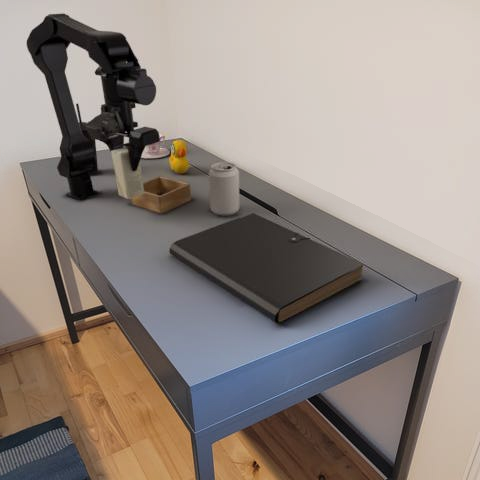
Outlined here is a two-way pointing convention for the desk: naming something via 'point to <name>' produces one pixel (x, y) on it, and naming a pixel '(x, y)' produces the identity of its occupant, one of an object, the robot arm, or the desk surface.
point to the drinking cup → (87, 137)
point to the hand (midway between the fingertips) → (127, 168)
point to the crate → (171, 198)
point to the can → (224, 188)
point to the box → (126, 175)
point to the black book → (268, 265)
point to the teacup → (155, 150)
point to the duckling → (179, 157)
